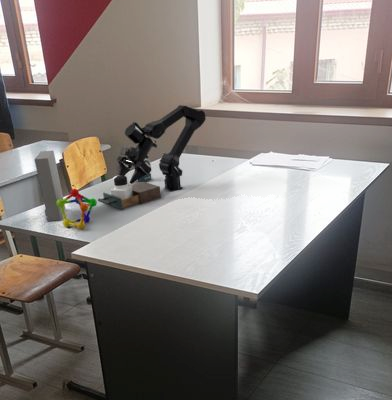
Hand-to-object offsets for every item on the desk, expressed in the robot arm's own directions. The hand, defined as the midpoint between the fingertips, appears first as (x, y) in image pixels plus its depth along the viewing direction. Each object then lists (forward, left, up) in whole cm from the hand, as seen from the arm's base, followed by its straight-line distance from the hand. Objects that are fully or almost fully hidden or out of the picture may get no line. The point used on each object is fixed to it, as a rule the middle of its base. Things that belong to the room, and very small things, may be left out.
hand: (124, 181), depth 219 cm
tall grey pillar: (+31, -3, -9) cm, 33 cm away
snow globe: (-21, -27, -9) cm, 36 cm away
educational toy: (+26, +15, -9) cm, 31 cm away
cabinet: (-8, -2, -9) cm, 13 cm away
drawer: (+4, +1, -9) cm, 10 cm away
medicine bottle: (+2, 0, -9) cm, 10 cm away
